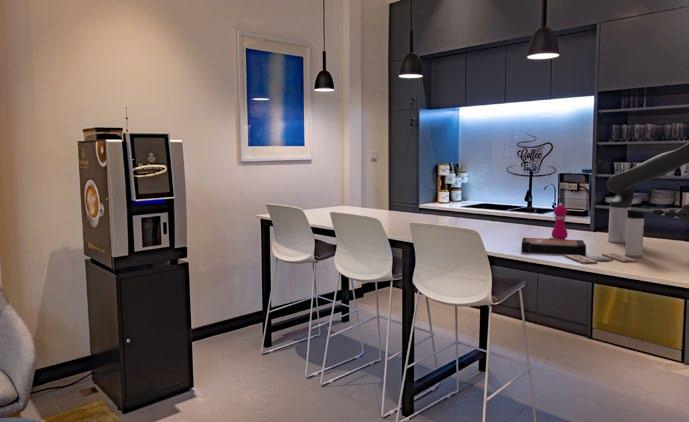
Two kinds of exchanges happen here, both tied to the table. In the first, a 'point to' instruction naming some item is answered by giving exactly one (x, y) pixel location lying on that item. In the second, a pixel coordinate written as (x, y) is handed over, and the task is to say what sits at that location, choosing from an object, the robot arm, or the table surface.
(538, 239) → the book
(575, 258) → the brown flat boards
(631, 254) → the travel mug
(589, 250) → the table surface
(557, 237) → the pepper mill
